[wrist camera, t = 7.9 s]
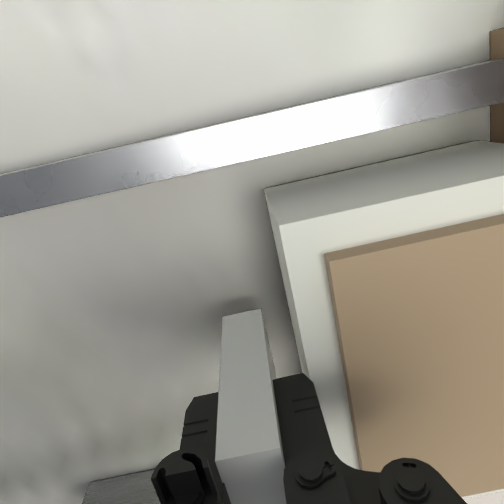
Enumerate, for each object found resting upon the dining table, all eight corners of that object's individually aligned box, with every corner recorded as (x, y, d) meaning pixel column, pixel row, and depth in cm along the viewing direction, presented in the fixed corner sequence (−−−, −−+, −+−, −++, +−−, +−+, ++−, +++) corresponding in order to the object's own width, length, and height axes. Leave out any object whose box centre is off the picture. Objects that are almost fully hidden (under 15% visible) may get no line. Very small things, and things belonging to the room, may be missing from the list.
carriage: (311, 418, 18) (343, 542, 13) (264, 188, 15) (281, 232, 9) (482, 382, 18) (585, 494, 13) (477, 140, 14) (620, 157, 9)
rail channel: (98, 499, 20) (63, 601, 16) (-56, 186, 14) (-172, 217, 10) (493, 418, 19) (564, 503, 15) (490, 60, 14) (601, 38, 10)
